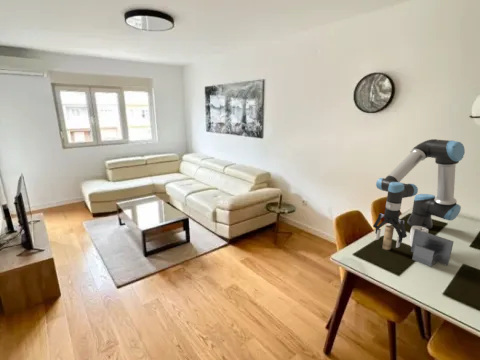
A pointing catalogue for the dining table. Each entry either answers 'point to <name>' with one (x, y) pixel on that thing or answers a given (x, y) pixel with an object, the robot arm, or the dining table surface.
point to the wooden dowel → (388, 237)
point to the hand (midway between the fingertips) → (387, 242)
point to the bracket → (430, 248)
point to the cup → (414, 230)
